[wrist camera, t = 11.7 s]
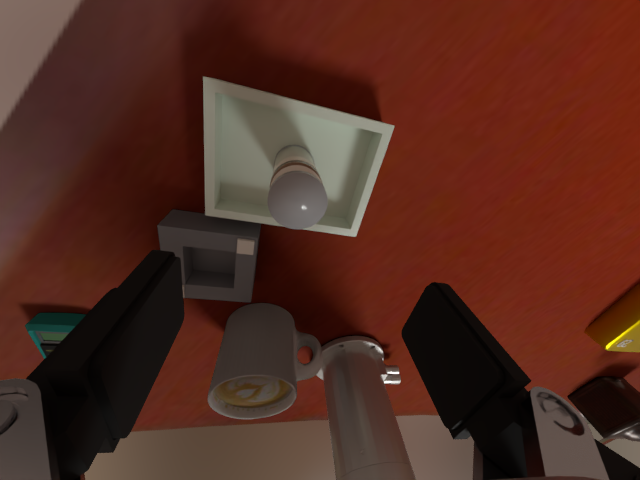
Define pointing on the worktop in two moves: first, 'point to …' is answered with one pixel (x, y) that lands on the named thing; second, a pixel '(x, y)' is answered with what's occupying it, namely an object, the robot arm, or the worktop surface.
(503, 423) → the robot arm
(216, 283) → the fuse holder
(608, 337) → the element tile
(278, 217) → the cylinder
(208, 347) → the worktop surface
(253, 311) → the coffee mug
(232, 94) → the parts tray
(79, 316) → the digital multimeter
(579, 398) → the manual coffee grinder
